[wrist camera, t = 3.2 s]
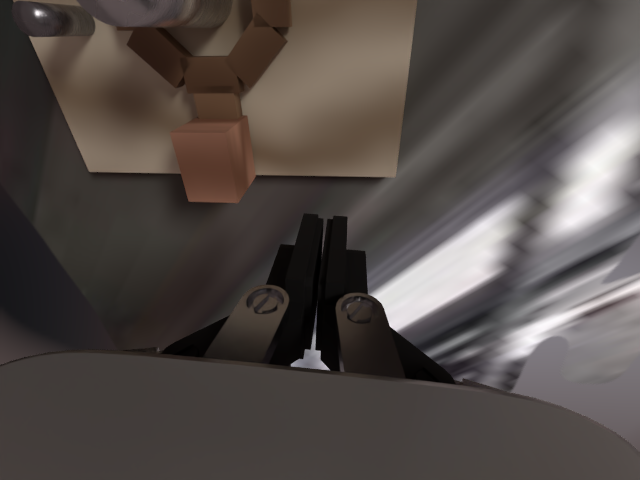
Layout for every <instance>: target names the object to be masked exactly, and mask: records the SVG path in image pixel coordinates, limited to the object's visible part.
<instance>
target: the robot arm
mask: <svg viewBox="0 0 640 480" xmlns="http://www.w3.org/2000/svg"><path fill="white" fill-rule="evenodd" d="M322 239H323V219H322V218H318V214H304V215H303V219H302V222H301V226H300V229H299V233H298V236H297V240H296V243H295V245H284V244H281V245H280V247H279V250H278V253H277V256H276V258H275V261H274V264H273V267H272V269H271V272H270V275H269V278H268V281H267V283H266V285H260V286H257V287H254V288H252V289H250V290H249V291H247V292H246V293H245V294H244V295H243V297H242V298H241V300H240V301H239V303H238V304H237V306H236V307H235V309H234V310H233V312H232V313H231V315H230V316H228V317H225V318H223V319H221V320H219V321H217V322H215V323H213V324H211V325H209V326H207V327H205V328H203V329H201V330H199V331H197V332H195V333H193V334H191V335H189V336H187V337H185V338H183V339H181V340H179V341H176V342H175V343H173V344H171V345H170V346H168V347H167V348H166V349H165V350H164V351H159V349H158V347H154V348H144V349H133V350H123V351H118V350H97V349H96V350H95V349H92V350H67V351H57V352H48V353H43V354H38V355H33V356H28V357H24V358H20V359H17V360H13V361H10V362H7V363H5V364H1V365H0V480H640V452H639V451H638V450H637V449H636V448H635V447H634V446H633V445H632V444H631V443H629V442H628V441H627V440H625V439H624V438H622V437H621V436H620V435H618V434H617V433H616V432H614V431H612V430H611V429H609V428H607V427H605V426H604V425H602V424H600V423H598V422H596V421H594V420H592V419H590V418H588V417H586V416H583V415H581V414H579V413H576V412H574V411H572V410H569V409H567V408H564V407H562V406H559V405H556V404H553V403H550V402H547V401H543V400H540V399H537V398H533V397H529V396H524V395H520V394H515V393H511V392H507V391H504V390H500V389H497V388H494V387H490V386H487V385H484V384H480V383H477V382H474V381H470V380H467V379H464V378H463V379H462V381H461V382H460V381H456V380H454V379H453V378H452V376H451V375H450V374H449V373H448V372H447V371H446V370H445V369H443V368H442V367H441V366H439V365H438V364H437V363H436V362H434V361H433V360H432V359H430V358H429V357H428V356H427V355H425V354H424V353H423V352H421V351H420V350H419V349H418V348H416V347H415V346H414V345H413V344H411V343H410V342H409V341H407V340H406V339H405V338H404V337H402V336H401V335H400V334H398V333H397V332H396V331H395V330H393V329H392V328H391V327H390V326H389V323H388V320H387V317H386V314H385V311H384V308H383V306H382V304H381V303H380V302H379V301H378V300H377V299H376V298H374V297H372V296H370V295H368V290H367V272H366V254H365V251H358V250H346V243H347V217H344V216H333V219H328V220H327V227H326V234H325V241H324V247H323V254H322ZM321 260H322V261H321ZM317 301H318V303H317ZM316 308H317V326H316V350H319V351H321V361H322V362H323V363H324V364H325V365H326V366H327V367H328V368H329V369H330V371H329V370H319V369H310V368H300V367H291V364H292V363H293V362H295V361H296V360H298V359H303V357H304V351H305V349H309V350H310V349H311V344H312V337H313V329H314V322H315V315H316Z"/></svg>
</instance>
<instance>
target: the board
mask: <svg viewBox="0 0 640 480" xmlns="http://www.w3.org/2000/svg"><path fill="white" fill-rule="evenodd" d="M13 1H14V3H15V2H16V1H31V2H42V3H53V4H64V5H75V6H81V5H80V4H79V3H78V2H77V1H76V0H13ZM416 6H417V0H291V16H292V27H276V29H277V30H278V31H279V32H280V33H281V34H282V35H283V36H284V37H285V38H286V40H287V41H288V42H287V43H286V45H285V46H284V47H283V49H282V50H281V51H280V53H279V54H278V55H277V56H276V58H275V59H274V60H273V62H272V63H271V64H270V66H269V67H268V68H267V70H266V71H265V72H264V74H263V75H262V76H261V78H260V79H259V80H258V81H257V83H256V84H255V85H254V86H253V87H251V88H249V87H248V86H247V85H246V84H245V83H244V82H243V84H244V91H243V92H241V93H239V94H240V101H241V107H242V114H243V115H247V116H248V123H249V131H250V138H251V145H252V152H253V160H254V167H255V174H256V175H293V176H350V177H396V170H397V162H398V154H399V145H400V137H401V129H402V121H403V113H404V104H405V96H406V88H407V80H408V72H409V63H410V55H411V47H412V39H413V31H414V22H415V14H416ZM81 7H82V6H81ZM92 17H93V16H92ZM93 19H94V21H95V32H94V33H93V34H92V35H91V36H67V37H31V36H29V37H30V40H31V42H32V44H33V46H34V49H35V51H36V53H37V55H38V58H39V60H40V62H41V64H42V67H43V69H44V71H45V73H46V76H47V78H48V80H49V82H50V85H51V87H52V89H53V91H54V94H55V96H56V98H57V100H58V103H59V105H60V107H61V109H62V112H63V114H64V116H65V118H66V121H67V123H68V125H69V127H70V130H71V132H72V134H73V136H74V139H75V141H76V143H77V145H78V148H79V150H80V152H81V154H82V157H83V159H84V161H85V163H86V166H87V168H88V170H89V172H121V173H178V174H181V172H180V169H179V165H178V161H177V158H176V154H175V150H174V147H173V143H172V140H171V136H170V132H171V131H173V130H175V129H177V128H179V127H180V126H182V125H184V124H186V123H188V122H189V121H191V120H193V119H195V118H197V117H198V114H197V109H196V105H195V100H194V96H193V94H188V93H187V89H186V85H185V84H184V86H182V87H179V88H174V87H173V86H172V85H171V84H170V83H169V82H168V81H167V80H165V79H164V78H163V77H162V76H161V75H160V74H159V73H158V72H156V71H155V70H154V69H153V68H152V67H151V66H150V65H149V64H147V63H146V62H145V61H144V60H143V59H142V58H141V57H140V56H138V55H137V54H136V53H135V52H134V51H133V50H132V49H131V48H129V47H128V46H127V43H128V40H129V38H130V36H131V34H132V32H133V31H117V28H116V26H112V25H108V24H106V23H103V22H101V21H99V20H98V19H96V18H94V17H93ZM252 19H253V14H252V5H251V0H233V3H232V9H231V12H230V15H229V16H228V18H227V20H226V21H225V22H224V23H223V24H221V25H220V26H218V27H215V28H169V27H163V28H164V29H166V30H167V31H168V32H169V33H170V34H171V35H172V36H173V37H174V38H175V39H176V40H177V41H178V42H179V43H180V44H181V45H182V46H183V47H184V48H186V49H187V50H188V51H189V52H190V53H191V54H192V55H193V56H228V55H229V53H230V52H231V51H232V49H233V48H234V46H235V45H236V43H237V42H238V40H239V39H240V37H241V36H242V34H243V33H244V31H245V30H246V28H247V27H248V25H249V24H250V22H251V21H252Z"/></svg>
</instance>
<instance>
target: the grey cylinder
mask: <svg viewBox="0 0 640 480" xmlns="http://www.w3.org/2000/svg"><path fill="white" fill-rule="evenodd" d="M76 1H77V2H78V3H79V4H80V5H81V6H82V7H81V6H75V5H64V4H53V3H42V2H31V1H16V2H15V3H14V4H13V6H12V15H13V18H14V21H15V22H16V24H17V26H18V27H19V28H20V29H21V30H22V31H23V32H24V33H25V34H27V35H29V36H31V37H67V36H91V35H92V34H93V33H94V32H95V21H94V19H93V17H94V18H96V19H98V20H99V21H101V22H103V23H106V24H108V25H112V26H118V27H169V28H215V27H218V26H220V25H221V24H223V23H224V22H225V21H226V20H227V18H228V16H229V15H230V12H231V9H232V3H233V0H76ZM92 16H93V17H92Z"/></svg>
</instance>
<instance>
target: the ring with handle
mask: <svg viewBox="0 0 640 480" xmlns="http://www.w3.org/2000/svg"><path fill="white" fill-rule="evenodd" d="M251 5H252V14H253V19H252V21H251V22H250V24H249V25H248V27H247V28H246V30H245V31H244V33H243V34H242V36H241V37H240V39H239V40H238V42H237V43H236V45H235V46H234V48H233V49H232V51H231V52H230V53H229V55H228V56H193V55H192V54H191V53H190V52H189V51H188V50H187V49H186V48H184V47H183V46H182V45H181V44H180V43H179V42H178V41H177V40H176V39H175V38H174V37H173V36H172V35H171V34H170V33H169V32H168V31H167V30H166V29H164V28H163V27H118V26H116V28H117V31H133V32H132V34H131V36H130V38H129V40H128V43H127V46H128V47H129V48H131V49H132V50H133V51H134V52H135V53H136V54H137V55H138V56H140V57H141V58H142V59H143V60H144V61H145V62H146V63H147V64H149V65H150V66H151V67H152V68H153V69H154V70H155V71H156V72H158V73H159V74H160V75H161V76H162V77H163V78H164V79H165V80H167V81H168V82H169V83H170V84H171V85H172V86H173V87H174V88H179V87H182V86H184V84H185V85H186V89H187V93H188V94H193V96H194V100H195V105H196V109H197V114H198V117H197V118H195V119H193V120H191V121H189V122H188V123H186V124H184V125H182V126H180V127H179V128H177V129H175V130H173V131H171V132H170V136H171V140H172V143H173V147H174V150H175V154H176V158H177V161H178V165H179V169H180V172H181V176H182V179H183V183H184V187H185V190H186V194H187V197H188V201H189V202H221V203H238V202H239V201H240V199H241V198H242V196H243V195H244V193H245V192H246V190H247V189H248V187H249V186H250V184H251V183H252V182H253V180H254V179H255V177H256V174H255V167H254V160H253V152H252V145H251V138H250V131H249V123H248V116H247V115H243V114H242V107H241V101H240V94H239V93H241V92H243V91H244V84H243V82H244V83H245V84H246V85H247V86H248V87H249V88H251V87H253V86H254V85H255V84H256V83H257V81H258V80H259V79H260V78H261V76H262V75H263V74H264V72H265V71H266V70H267V68H268V67H269V66H270V64H271V63H272V62H273V60H274V59H275V58H276V56H277V55H278V54H279V53H280V51H281V50H282V49H283V47H284V46H285V45H286V43H287V42H288V41H287V40H286V38H285V37H284V36H283V35H282V34H281V33H280V32H279V31H278V30H277V29H276V27H292V16H291V0H251Z"/></svg>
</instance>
